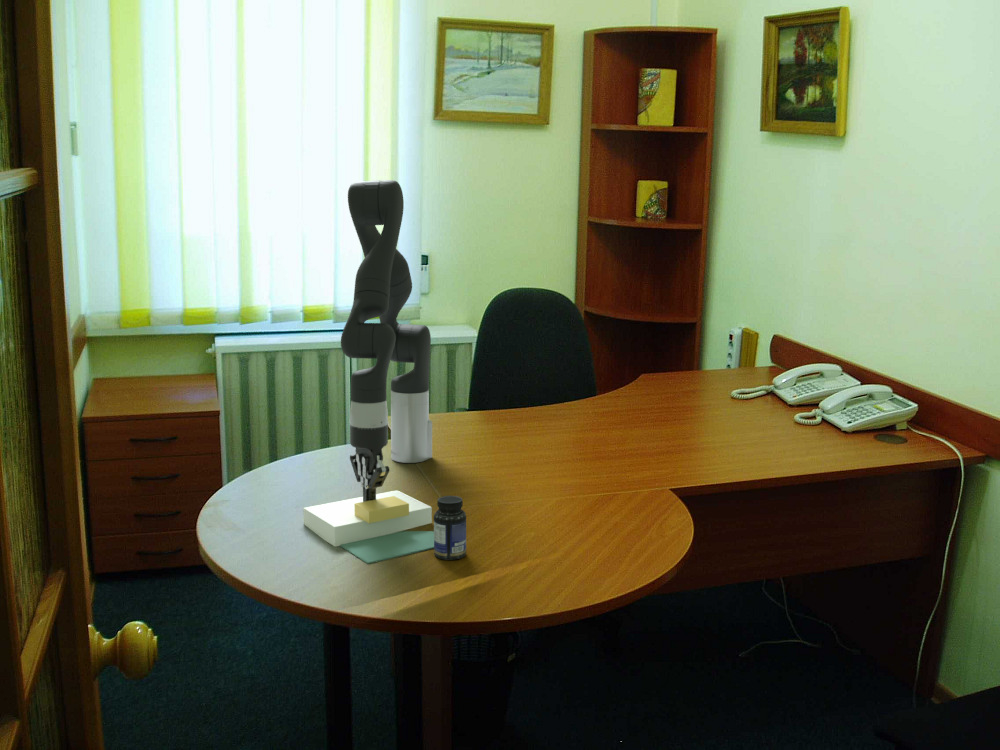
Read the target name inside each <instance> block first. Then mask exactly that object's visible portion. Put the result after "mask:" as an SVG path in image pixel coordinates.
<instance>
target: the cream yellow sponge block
mask: <svg viewBox="0 0 1000 750" xmlns="http://www.w3.org/2000/svg"><path fill="white" fill-rule="evenodd" d="M354 506H355V516H357V517H359V518H361V519H362V520H364V521H366V522H368V523H373V522H378V521H383V520H388V519H393V518H398V517H402V516H407V515H409V503H407V502H405V501H403V500H401V499H399V498H397V497H395V496H392V497H386V498H381V499H376V500H370V501H365V502H360V503H355V504H354Z"/></svg>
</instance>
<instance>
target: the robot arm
mask: <svg viewBox="0 0 1000 750" xmlns="http://www.w3.org/2000/svg"><path fill="white" fill-rule="evenodd" d="M347 203H348V209H349V213H350V217H351V219H352V223H353V226H354V229H355V232H356V234H357V238H358V240H359V242H360V243H359V244H360V245H361V249H362V252H363V253H362V254H363V260H362V261H361V263H360V265H359V267H358V269H357V271H356V275H355V281H354V292H353V302H352V306H351V310H350V313H349V316H348V318H347V321H346V323H345V325H344V327H343V331H342V333H341V338H340V347H341V351H342V352H343V354H344V355H345V356H346V357H348V358H349V359H375V360H376V363H375V365H374V366H372V367H368V368H363V369H359V370H355V371H354V372H352V374H351V376H350V400H351V401H350V408H349V444H350V445H351V446H352V448H355V453H354V454H352V455H349V460H350V463H351V467H352V470H353V473H354V476H355V479H356V481H357V483H360V487H362V497H363V502H365V501H370V500H376V494H377V488H380V487H383V485H384V483H385V480H386V479H387V477H388V476H389V475H388V474H389V473H390V467H389V466H388V465H386V466H385V465H384V462H383V461H384V455H383V448H385V447H386V446H387V445H388V442H389V438H388V437H389V430H388V429H389V422H388V421H389V418H388V417H389V413H388V412H389V410H388V404H387V402H388V401H387V382H388V381H387V380H388V379H387V378H388V371H389V368H390V367H389V366H390V362H394V363H409V364H411V363H412V364H413V363H414V364H413V368H412V370H410V371H409V372H406V373H403V374H401V375H397V376H394V377H393V378H392V379H391V380H390V459H391V460H392V461H394V462H398V463H402V464H415V463H416V464H417V463H422V462H424V461H428V460H429V459H432V458H433V421H432V420H431V419H430V411H429V410H430V402H429V401H430V399H429V398H430V393H429V392H430V363H431V362H430V361H431V349H432V347H431V342H432V340H431V339H432V337H431V331H430V329H429V327H428V326H427V325H424V324H408V323H407V324H405V323H402V324H401V323H399V322H398V319H397V318H398V315H399V314H400V312H401V310H402V309H403V308H404V306H405V304H406V303H407V301H408V300H409V298H410V295H412V290H413V282H412V277H411V272H410V271H411V270H410V267H409V264H408V262H407V258H405V256H404V255H403V254H402V253H401V251H399V250H398V249H397V247H398V241H399V237H400V231H401V227H402V222H403V216H404V209H405V208H404V194H403V189H402V186H401V185H400V183H399V182H398V181H396V180H393V179H392V180H391V179H382V180H362V181H355V182H352V183H351V184H350V185H349V188H348V190H347ZM377 226H383V228H382V230H381V233H380V232H379V230H378V228H377ZM375 318H379V322H366V321H368V320H371V319H375Z"/></svg>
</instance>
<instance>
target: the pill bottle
mask: <svg viewBox="0 0 1000 750" xmlns="http://www.w3.org/2000/svg"><path fill="white" fill-rule="evenodd" d="M437 507H438V509H437V510H436V511H435V512H434V515H433V531H434V548H433V554H434V556H435V557H436V558H437V559H439V560H444V561H455V560H459V559H462V558H464V557H465V556H466V555H467V513H466V512H465V511H464V510H463V509H462V508H463V498H462V497H460V496H457V495H444V496H441V497H439V498H437Z"/></svg>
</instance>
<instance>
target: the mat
mask: <svg viewBox="0 0 1000 750" xmlns="http://www.w3.org/2000/svg"><path fill="white" fill-rule="evenodd" d="M339 547H341V548H342V549H344V550H346V551H347V552H348V553H350V554H351V555H353V556H355V557H356V558H358V559H359V560H361V561H363V562H364V563H365V564H367V565H369V564H373V563H377V562H381V561H387V560H390V559H395V558H399V557H403V556H408V555H411V554H416V553H420V552H424V551H428V550H432V549H433V550H434V530H414V531H413V530H403V531H399V532H395V533H391V534H387V535H383V536H378V537H374V538H369V539H365V540H360V541H355V542H351V543H346V544H342V545H340V546H339Z"/></svg>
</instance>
